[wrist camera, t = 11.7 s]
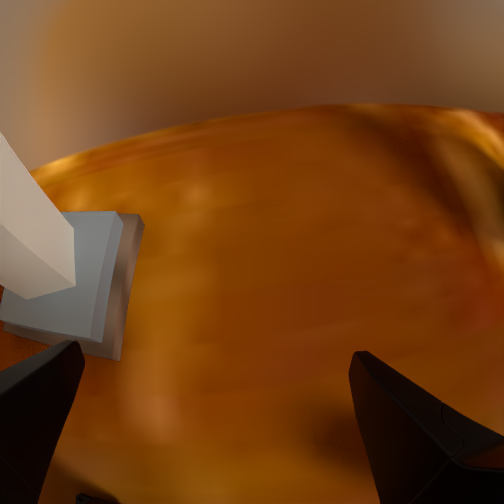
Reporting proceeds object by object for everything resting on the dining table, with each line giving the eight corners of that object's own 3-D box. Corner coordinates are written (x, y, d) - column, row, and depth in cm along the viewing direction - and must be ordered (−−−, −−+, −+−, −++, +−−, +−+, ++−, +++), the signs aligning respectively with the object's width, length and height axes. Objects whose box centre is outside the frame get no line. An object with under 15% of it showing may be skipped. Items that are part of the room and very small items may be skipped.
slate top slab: (102, 343, 20) (90, 338, 18) (11, 324, 20) (-3, 318, 18) (123, 223, 24) (115, 211, 22) (37, 224, 24) (26, 213, 22)
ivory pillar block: (75, 286, 20) (-30, 193, 9) (26, 299, 19) (-81, 226, 8) (73, 228, 22) (-5, 123, 11) (27, 244, 21) (-58, 157, 10)
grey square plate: (123, 361, 22) (110, 358, 19) (18, 336, 22) (2, 330, 20) (146, 228, 27) (138, 214, 24) (47, 225, 27) (35, 212, 25)
